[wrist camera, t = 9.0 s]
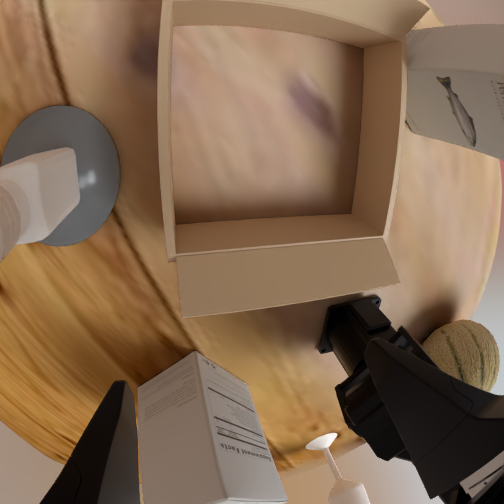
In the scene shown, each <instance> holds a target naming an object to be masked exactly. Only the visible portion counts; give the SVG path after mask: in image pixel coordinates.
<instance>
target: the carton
mask: <svg viewBox="0 0 504 504" xmlns="http://www.w3.org/2000/svg"><path fill="white" fill-rule="evenodd" d="M429 9H430V8H429V7H428V6H426V5H424V4H422V3H421V2H419V1H417V0H162V10H161V21H160V34H159V51H158V81H157V122H158V154H159V173H160V188H161V201H162V212H163V223H164V232H165V241H166V250H167V258H168V263H169V262H177V275H178V286H179V297H180V306H181V316H182V318H190V317H199V316H209V315H217V314H226V313H234V312H241V311H249V310H256V309H263V308H270V307H277V306H284V305H290V304H297V303H303V302H309V301H315V300H321V299H326V298H332V297H338V296H343V295H348V294H354V293H359V292H364V291H369V290H374V289H379V288H383V287H388V286H393V285H397V284H400V281H399V278H398V275H397V272H396V270H395V267H394V264H393V262H392V259H391V256H390V254H389V251H388V249H387V246H386V244H385V242H387V239H388V234H389V229H390V225H391V220H392V215H393V209H394V204H395V198H396V192H397V186H398V180H399V173H400V166H401V158H402V149H403V140H404V129H405V116H406V98H407V40H406V37H404V36H405V35H406V34H407V33H408V32H409V31H410V30H411V29H412V27H413V26H414V25H415V24H416V23H417V22H418V21H419V20H420V19H421V18H422V17H423V16H424V14H425V13H426V12H427V11H428V10H429ZM183 25H227V26H244V27H256V28H266V29H274V30H282V31H288V32H295V33H300V34H306V35H311V36H316V37H321V38H325V39H330V40H334V41H338V42H342V43H346V44H349V45H353V46H356V47H360V48H363V49H364V66H363V100H362V118H361V132H360V144H359V155H358V165H357V174H356V182H355V190H354V197H353V205H352V212H351V214H336V215H313V216H293V217H275V218H258V219H243V220H229V221H215V222H203V223H190V224H179V225H176V223H175V210H174V196H173V179H172V158H171V117H170V94H171V54H172V35H173V26H183Z"/></svg>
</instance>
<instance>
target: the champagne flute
mask: <svg viewBox="0 0 504 504" xmlns="http://www.w3.org/2000/svg"><path fill="white" fill-rule="evenodd" d="M336 436H337V433H329V434H326V435H323V436H320V437H318V438H316V439H314V440H312V441H311V442H310V443H308V444H307V445H306V449H311V450H322V451H323V453H324V455H325V457H326V459H327V461H328V463H329V466H330V468H331V470H332V472H333V474H334V476H335V478H336V480H337V482H336V483H335V485H334V486H333V488H332V490H331V492H330V495H329V502H330V504H370V501H369V498H368V496H367V493H366V490H365V488H364V485H363V484H361V483H359V482H357V481H353V480H349V479H343V478H342V476H341V474H340V472H339V470H338V468H337V466H336V464H335V462H334V459H333V457H332V455H331V453H330V451H329V449H328V447H329V446H330V444H331V443H332V442H333V441H334V439H335V438H336Z"/></svg>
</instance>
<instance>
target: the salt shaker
mask: <svg viewBox="0 0 504 504" xmlns="http://www.w3.org/2000/svg"><path fill="white" fill-rule="evenodd" d="M79 200H80V191H79V183H78V174H77V164H76V154H75V152H74V149H72V148H69V147H65V148H60V149H55V150H50V151H45V152H41V153H37V154H32V155H30V156H27V157H24V158H22V159H19V160H17V161H14V162H12V163H9V164H7V165H4V166H2V167H0V262H1V261H2V260H3V259H4V258H5V256H6V255H7V254H8V253H9V252H10V251H11V250H12V249H13V248H14V247H15V246H16V245H19V244H26V243H31V242H36V241H41V240H43V239H44V238H46V237H47V236H48V235H50V233H51V232H52V231H53V230H54V229H55V228H56V227H57V226H58V225H59V224H60V222H61V221H62V220H63V219H64V218H65V217H66V216H67V215H68V214H69V213H70V212H71V211H72V210H73V209H74V208H75V207H76V206H77V205H78V204H79Z"/></svg>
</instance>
